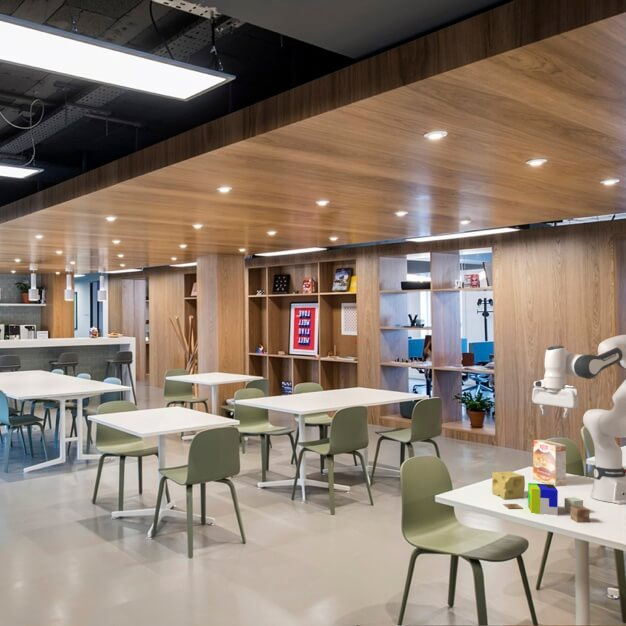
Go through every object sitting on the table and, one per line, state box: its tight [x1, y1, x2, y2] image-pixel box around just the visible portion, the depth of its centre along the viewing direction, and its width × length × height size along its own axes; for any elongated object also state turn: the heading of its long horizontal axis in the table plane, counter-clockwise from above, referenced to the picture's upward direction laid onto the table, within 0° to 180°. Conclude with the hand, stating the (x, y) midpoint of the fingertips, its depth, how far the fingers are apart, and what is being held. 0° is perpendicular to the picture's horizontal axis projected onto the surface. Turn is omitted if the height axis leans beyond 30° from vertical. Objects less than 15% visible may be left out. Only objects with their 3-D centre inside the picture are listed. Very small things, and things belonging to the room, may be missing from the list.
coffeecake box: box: [532, 439, 567, 487], centre depth 307 cm, size 15×7×20 cm, turn 23°
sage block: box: [563, 496, 584, 513], centre depth 259 cm, size 5×5×5 cm
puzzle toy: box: [527, 482, 559, 516], centre depth 258 cm, size 10×10×10 cm
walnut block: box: [570, 505, 590, 523], centre depth 246 cm, size 5×5×5 cm
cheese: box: [491, 470, 526, 500], centre depth 281 cm, size 10×11×10 cm
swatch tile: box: [502, 503, 524, 510], centre depth 263 cm, size 6×6×1 cm
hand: (554, 416), depth 267 cm, fingers open, 8 cm apart
